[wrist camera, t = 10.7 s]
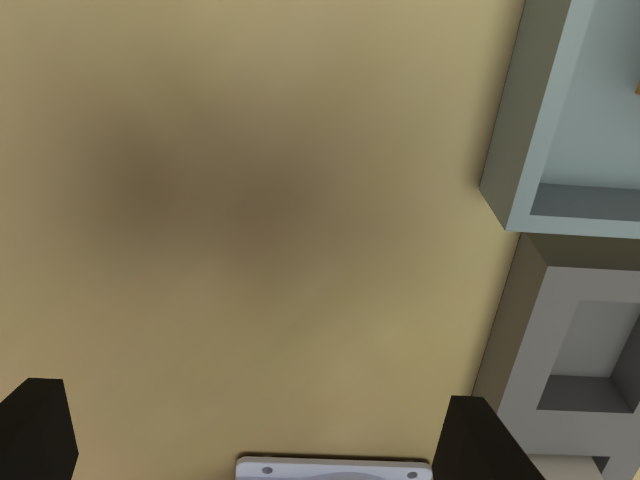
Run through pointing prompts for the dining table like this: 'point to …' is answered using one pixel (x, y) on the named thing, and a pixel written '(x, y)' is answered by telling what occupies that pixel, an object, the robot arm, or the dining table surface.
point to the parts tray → (570, 122)
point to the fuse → (566, 467)
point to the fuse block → (569, 350)
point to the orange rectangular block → (638, 89)
